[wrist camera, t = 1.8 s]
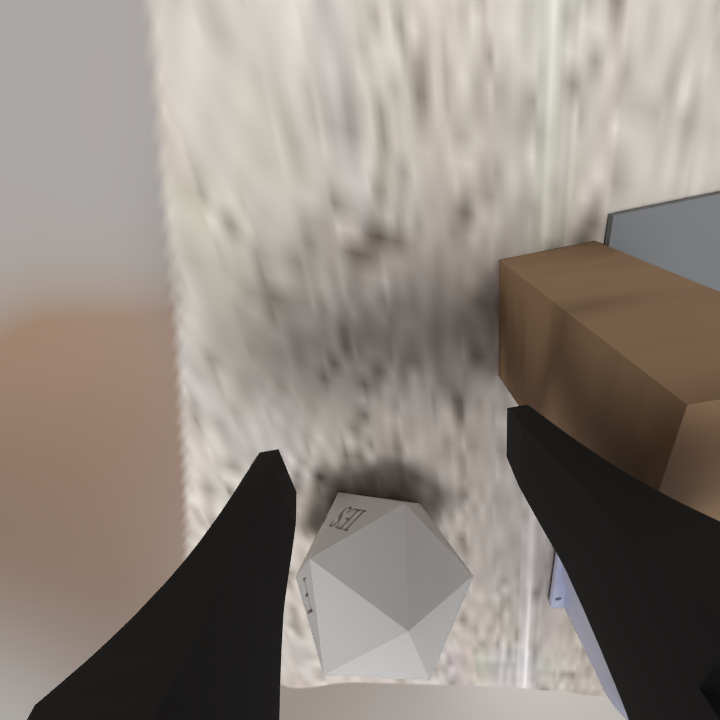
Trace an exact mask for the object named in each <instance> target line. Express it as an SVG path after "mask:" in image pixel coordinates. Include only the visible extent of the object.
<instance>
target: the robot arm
mask: <svg viewBox="0 0 720 720" xmlns="http://www.w3.org/2000/svg"><path fill="white" fill-rule="evenodd" d="M507 458H508V461H509V463H510V466H511V468H512V471H513V473H514V475H515V478H516V480H517V482H518V485H519V487H520V489H521V491H522V492H523V494H524V496H525V498H526V500H527V501H528V503H529V505H530V507H531V509H532V510H533V512H534V514H535V516H536V517H537V519H538V521H539V523H540V525H541V526H542V528H543V530H544V532H545V533H546V535H547V537H548V539H549V540H550V542H551V544H552V546H553V548H554V549H555V551H556V554H555V562H554V569H553V576H552V583H551V590H550V597H549V603H550V605H551V607H552V608H560V607H564V608H565V610H566V612H567V614H568V616H569V618H570V620H571V622H572V624H573V626H574V628H575V631H576V633H577V635H578V637H579V639H580V641H581V643H582V645H583V647H584V649H585V651H586V653H587V656H588V658H589V660H590V662H591V664H592V666H593V668H594V670H595V672H596V674H597V676H598V678H599V681H600V683H601V685H602V687H603V689H604V691H605V693H606V694H607V696H608V698H609V699H610V701H611V702H612V704H613V705H614V706H615V708H616V709H617V710H618V711H619V712H620V713H621V714H622V715H623V716H624V717H625V718H626V719H627V720H720V521H718V520H716V519H714V518H712V517H710V516H707V515H705V514H703V513H701V512H699V511H697V510H695V509H693V508H690V507H688V506H686V505H684V504H682V503H680V502H678V501H676V500H674V499H673V498H671V497H669V496H667V495H665V494H663V493H661V492H659V491H658V490H656V489H654V488H652V487H650V486H648V485H647V484H645V483H643V482H641V481H639V480H638V479H636V478H634V477H632V476H631V475H629V474H627V473H626V472H624V471H622V470H621V469H619V468H618V467H616V466H614V465H613V464H611V463H610V462H608V461H606V460H605V459H603V458H602V457H600V456H599V455H597V454H596V453H594V452H593V451H591V450H590V449H588V448H587V447H585V446H584V445H583V444H581V443H580V442H578V441H577V440H575V439H574V438H572V437H571V436H570V435H568V434H567V433H565V432H564V431H563V430H561V429H560V428H559V427H557V426H556V425H555V424H553V423H552V422H551V421H549V420H548V419H546V418H545V417H544V416H542V415H541V414H540V413H538V412H537V411H536V410H534V409H533V408H532V407H530V406H529V405H523V406H517V407H511V408H507ZM295 525H296V490H295V488H294V486H293V483H292V481H291V478H290V476H289V474H288V471H287V469H286V466H285V464H284V462H283V459H282V457H281V454H280V452H279V450H278V449H277V450H272V451H266V452H261V453H259V454H258V456H257V457H256V459H255V460H254V462H253V464H252V465H251V467H250V468H249V470H248V472H247V473H246V475H245V476H244V478H243V479H242V481H241V483H240V484H239V486H238V487H237V489H236V490H235V492H234V493H233V495H232V496H231V498H230V499H229V501H228V502H227V504H226V505H225V507H224V508H223V510H222V511H221V513H220V514H219V516H218V517H217V519H216V520H215V521H214V523H213V524H212V525H211V527H210V528H209V530H208V531H207V532H206V534H205V535H204V536H203V538H202V539H201V541H200V542H199V543H198V544H197V546H196V547H195V548H194V550H193V551H192V552H191V553H190V555H189V556H188V557H187V558H186V560H185V561H184V562H183V563H182V564H181V566H180V567H179V568H178V569H177V570H176V571H175V573H174V574H173V575H172V576H171V577H170V578H169V579H168V581H167V582H166V583H165V584H164V585H163V586H162V587H161V588H160V589H159V590H158V591H157V592H156V593H155V594H154V596H153V597H152V598H151V599H150V600H149V601H148V602H147V603H146V604H145V605H144V606H143V607H142V608H141V609H140V610H139V612H138V613H137V614H136V615H135V616H134V617H133V618H132V619H131V620H130V621H128V623H126V624H125V626H124V627H122V628H121V629H120V630H119V631H118V632H117V633H116V634H115V635H114V636H113V637H112V638H111V639H110V640H109V641H108V642H107V643H106V644H104V645H103V646H102V647H101V649H99V650H98V651H97V652H96V653H95V654H94V655H93V656H91V657H90V658H89V659H88V660H87V661H86V662H85V663H84V664H83V665H81V666H80V667H79V668H78V669H77V670H76V671H74V672H73V673H72V674H71V675H70V676H69V677H67V678H66V679H65V680H64V681H63V682H62V683H61V684H59V685H58V686H57V687H56V688H55V689H54V690H52V691H51V692H50V693H49V694H48V695H47V696H45V697H44V698H43V699H42V700H41V701H39V702H38V703H37V704H36V705H35V706H34V708H33V710H32V712H31V713H30V715H29V717H28V719H27V720H279V707H280V703H279V702H280V672H281V647H282V629H283V613H284V603H285V595H286V588H287V581H288V575H289V568H290V561H291V554H292V547H293V540H294V533H295Z"/></svg>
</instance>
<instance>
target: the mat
mask: <svg viewBox="0 0 720 720" xmlns="http://www.w3.org/2000/svg"><path fill="white" fill-rule="evenodd" d="M604 245H606V246H609V247H611V248H614V249H616V250H619V251H621V252H623V253H626V254H628V255H631V256H633V257H636V258H638V259H641V260H643V261H645V262H648V263H650V264H653V265H655V266H658V267H660V268H663V269H665V270H667V271H670V272H672V273H675V274H677V275H680V276H682V277H685V278H687V279H689V280H692V281H694V282H697V283H699V284H702V285H704V286H707V287H709V288H712V289H714V290H716V291H719V292H720V192H716V193H711V194H706V195H701V196H696V197H691V198H686V199H681V200H677V201H672V202H667V203H662V204H657V205H652V206H647V207H642V208H637V209H632V210H627V211H622V212H617V213H613V214H609V217H608V224H607V230H606V237H605V244H604Z"/></svg>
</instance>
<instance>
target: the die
mask: <svg viewBox="0 0 720 720" xmlns="http://www.w3.org/2000/svg"><path fill="white" fill-rule="evenodd" d="M472 578H473V575H472V573H471V572H470V571H469V569H468V568H467V567H466V565H465V564H464V562H463V561H462V560H461V558H460V557H459V556H458V554H457V553H456V552H455V550H454V549H453V548H452V546H451V545H450V544H449V542H448V541H447V540H446V538H445V537H444V535H443V534H442V533H441V531H440V530H439V529H438V527H437V526H436V525H435V523H434V522H433V521H432V519H431V518H430V517H429V515H428V514H427V513H426V511H425V510H424V508H423V507H422V506H421V504H420V503H414V502H406V501H399V500H392V499H385V498H377V497H370V496H363V495H355V494H348V493H341V492H338V494H337V496H336V498H335V500H334V502H333V504H332V506H331V508H330V510H329V512H328V514H327V516H326V518H325V521H324V522H323V524H322V526H321V528H320V530H319V532H318V534H317V536H316V538H315V539H314V541H313V543H312V545H311V547H310V549H309V551H308V553H307V555H306V557H305V559H304V561H303V563H302V565H301V567H300V569H299V571H298V573H297V575H296V579H297V583H298V586H299V590H300V593H301V597H302V600H303V604H304V607H305V611H306V614H307V618H308V621H309V625H310V628H311V632H312V635H313V639H314V642H315V646H316V649H317V653H318V656H319V660H320V663H321V667H322V670H323V674H324V675H333V676H353V677H373V678H393V679H414V680H430V678H431V676H432V673H433V671H434V668H435V666H436V664H437V661H438V659H439V656H440V654H441V652H442V649H443V647H444V644H445V642H446V640H447V637H448V635H449V632H450V630H451V628H452V625H453V623H454V621H455V618H456V616H457V613H458V611H459V609H460V606H461V604H462V601H463V599H464V597H465V594H466V592H467V589H468V587H469V585H470V582H471V580H472Z"/></svg>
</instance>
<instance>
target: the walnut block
mask: <svg viewBox="0 0 720 720" xmlns="http://www.w3.org/2000/svg"><path fill="white" fill-rule="evenodd" d="M499 377H500V378H501V380H502V381H503V383H504V384H505V386H506V387H507V389H508V390H509V392H510V393H511V395H512V396H513V398H514V399H515V401H516V402H517V404H518V405H519V406H523V405H529V406H530V407H532V408H533V409H534V410H536V411H537V412H538V413H540V414H541V415H542V416H544V417H545V418H546V419H548V420H549V421H551V422H552V423H553V424H555V425H556V426H557V427H559V428H560V429H561V430H563V431H564V432H565V433H567V434H568V435H570V436H571V437H572V438H574V439H575V440H577V441H578V442H580V443H581V444H583V445H584V446H585V447H587V448H588V449H590V450H591V451H593V452H594V453H596V454H597V455H599V456H600V457H602V458H603V459H605V460H606V461H608V462H610V463H611V464H613V465H614V466H616V467H618V468H619V469H621V470H622V471H624V472H626V473H627V474H629V475H631V476H632V477H634V478H636V479H638V480H639V481H641V482H643V483H645V484H647V485H648V486H650V487H652V488H654V489H656V490H658V491H659V492H661V493H663V494H665V495H667V496H669V497H671V498H673V499H674V500H676V501H678V502H680V503H682V504H684V505H686V506H688V507H690V508H693V509H695V510H697V511H699V512H701V513H703V514H705V515H707V516H710V517H712V518H714V519H716V520H718V521H720V292H719V291H716V290H714V289H712V288H709V287H707V286H704V285H702V284H699V283H697V282H694V281H692V280H689V279H687V278H685V277H682V276H680V275H677V274H675V273H672V272H670V271H667V270H665V269H663V268H660V267H658V266H655V265H653V264H650V263H648V262H645V261H643V260H641V259H638V258H636V257H633V256H631V255H628V254H626V253H623V252H621V251H619V250H616V249H614V248H611V247H609V246H606V245H604V244H601V243H599V242H597V241H592V242H587V243H582V244H576V245H571V246H566V247H561V248H556V249H551V250H546V251H541V252H536V253H531V254H526V255H521V256H516V257H511V258H506V259H501V260H499Z"/></svg>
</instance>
